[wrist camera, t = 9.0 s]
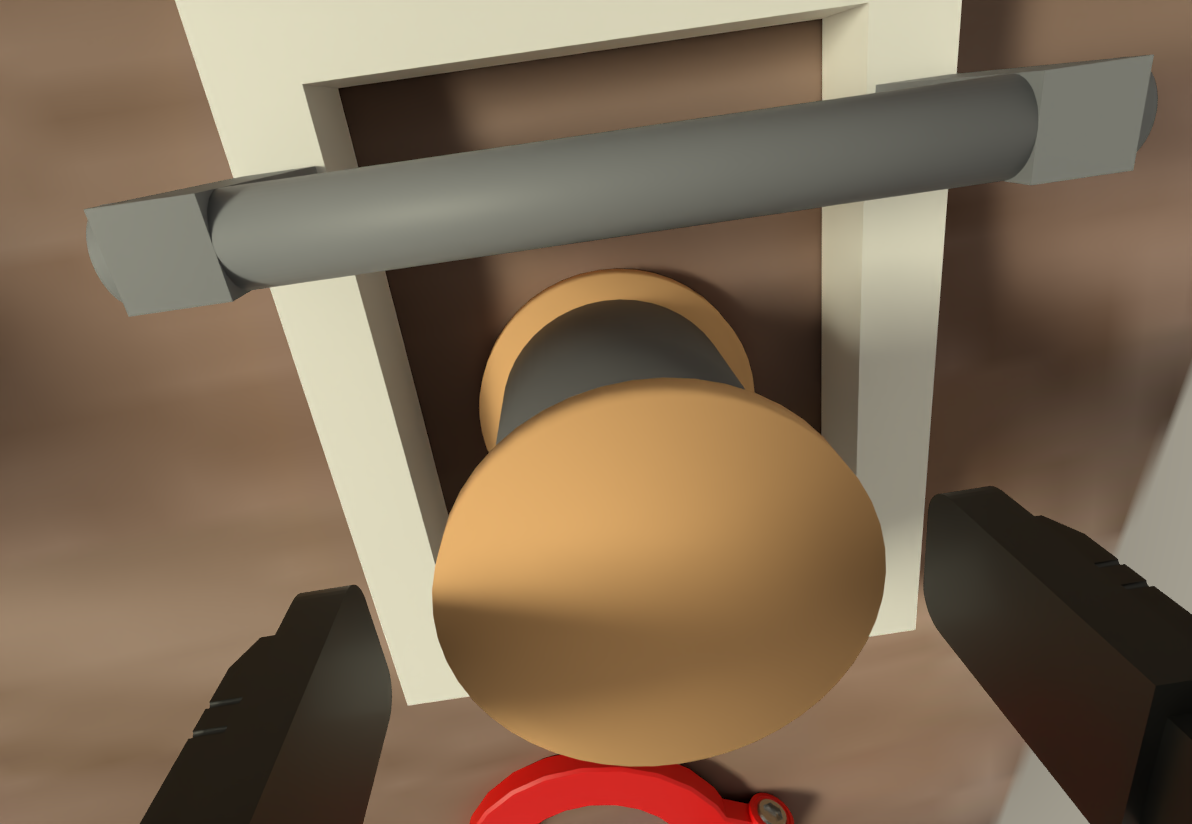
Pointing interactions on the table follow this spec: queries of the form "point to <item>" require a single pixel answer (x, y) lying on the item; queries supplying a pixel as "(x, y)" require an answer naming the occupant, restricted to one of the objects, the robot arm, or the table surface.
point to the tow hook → (619, 794)
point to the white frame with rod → (594, 220)
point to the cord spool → (648, 535)
